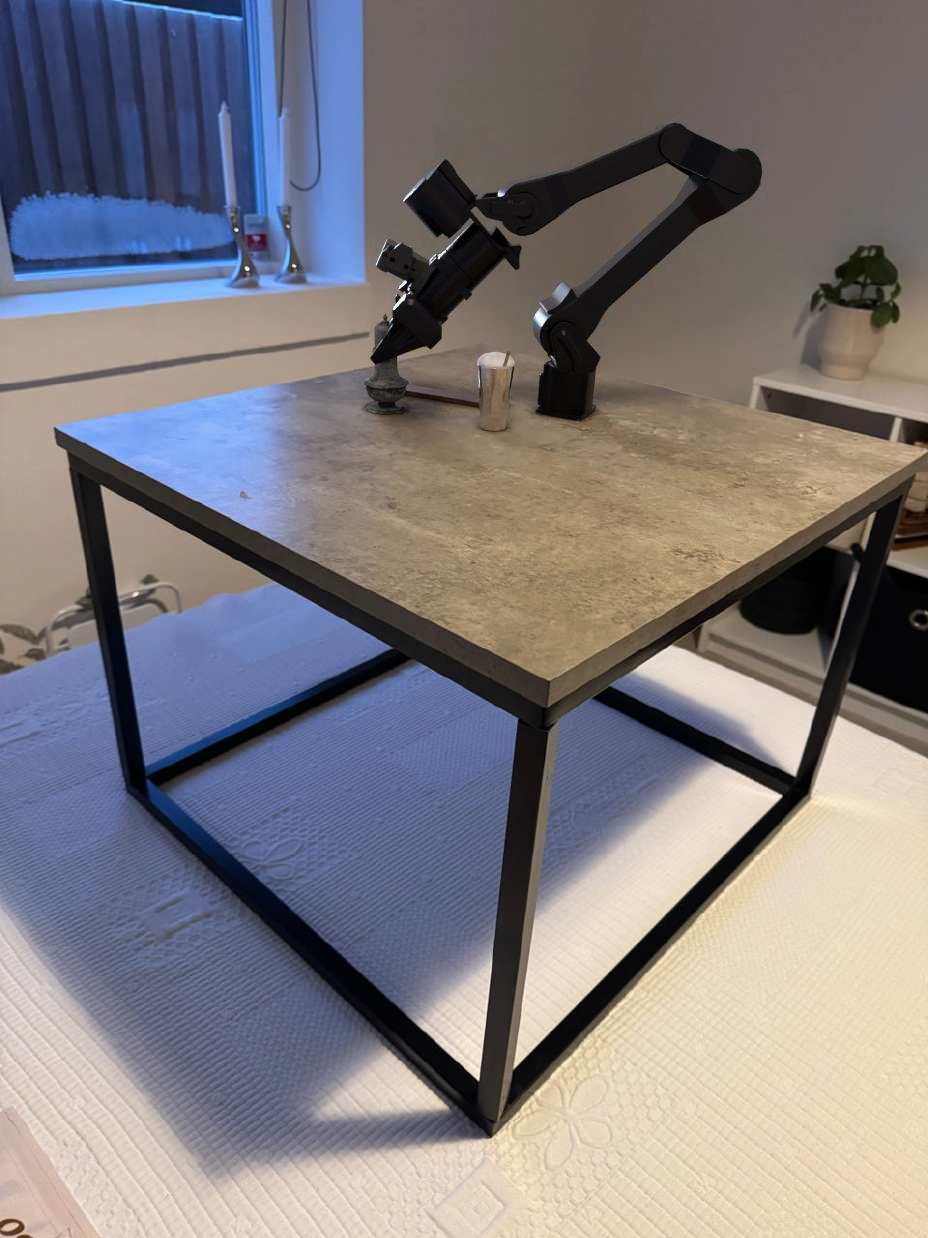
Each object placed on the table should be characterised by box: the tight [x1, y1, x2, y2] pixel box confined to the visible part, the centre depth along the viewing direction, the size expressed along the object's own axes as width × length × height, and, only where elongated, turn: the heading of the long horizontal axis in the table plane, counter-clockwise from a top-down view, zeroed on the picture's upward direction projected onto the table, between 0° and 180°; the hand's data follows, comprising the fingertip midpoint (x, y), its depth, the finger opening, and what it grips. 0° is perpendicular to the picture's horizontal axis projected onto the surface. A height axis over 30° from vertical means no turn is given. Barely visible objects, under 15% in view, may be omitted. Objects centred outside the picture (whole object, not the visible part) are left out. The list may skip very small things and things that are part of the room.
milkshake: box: [476, 350, 516, 432], centre depth 105 cm, size 4×5×10 cm
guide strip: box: [404, 383, 480, 408], centre depth 119 cm, size 20×3×1 cm, turn 63°
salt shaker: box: [363, 313, 410, 415], centre depth 111 cm, size 6×6×12 cm
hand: (373, 357), depth 110 cm, fingers open, 4 cm apart
